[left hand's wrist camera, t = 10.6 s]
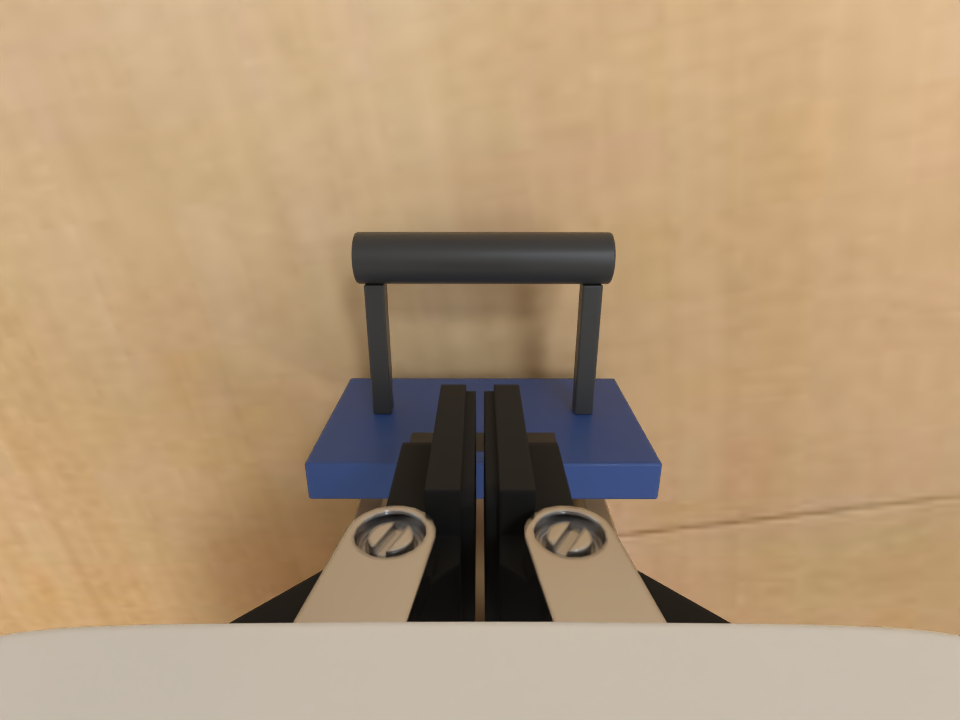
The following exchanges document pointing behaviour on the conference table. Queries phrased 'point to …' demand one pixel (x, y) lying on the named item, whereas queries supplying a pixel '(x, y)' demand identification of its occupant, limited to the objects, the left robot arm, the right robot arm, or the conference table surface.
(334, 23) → the conference table surface
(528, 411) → the drawer
